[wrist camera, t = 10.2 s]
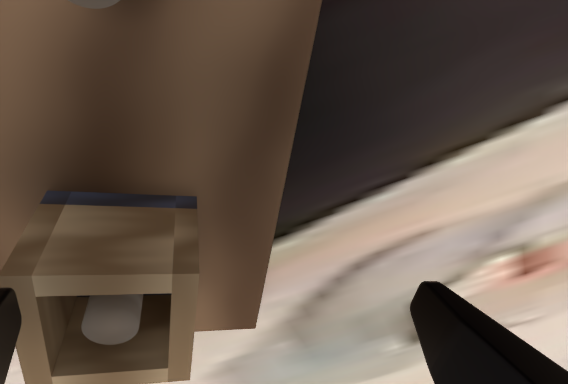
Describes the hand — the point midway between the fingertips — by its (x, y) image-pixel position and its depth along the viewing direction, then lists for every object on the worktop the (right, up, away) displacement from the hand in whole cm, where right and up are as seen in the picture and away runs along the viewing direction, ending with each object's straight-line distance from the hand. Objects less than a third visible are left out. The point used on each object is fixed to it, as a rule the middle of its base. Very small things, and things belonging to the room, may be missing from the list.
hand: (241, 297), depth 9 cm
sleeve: (-6, 0, +9) cm, 11 cm away
